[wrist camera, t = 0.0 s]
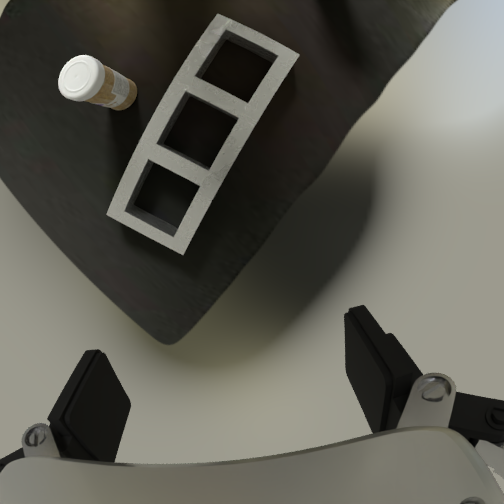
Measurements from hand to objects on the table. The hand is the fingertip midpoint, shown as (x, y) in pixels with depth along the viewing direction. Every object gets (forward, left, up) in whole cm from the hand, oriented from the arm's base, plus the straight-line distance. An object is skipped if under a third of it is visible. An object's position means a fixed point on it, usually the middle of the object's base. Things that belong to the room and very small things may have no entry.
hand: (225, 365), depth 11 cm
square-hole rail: (-6, -8, -31) cm, 33 cm away
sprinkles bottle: (-6, -20, -31) cm, 38 cm away
